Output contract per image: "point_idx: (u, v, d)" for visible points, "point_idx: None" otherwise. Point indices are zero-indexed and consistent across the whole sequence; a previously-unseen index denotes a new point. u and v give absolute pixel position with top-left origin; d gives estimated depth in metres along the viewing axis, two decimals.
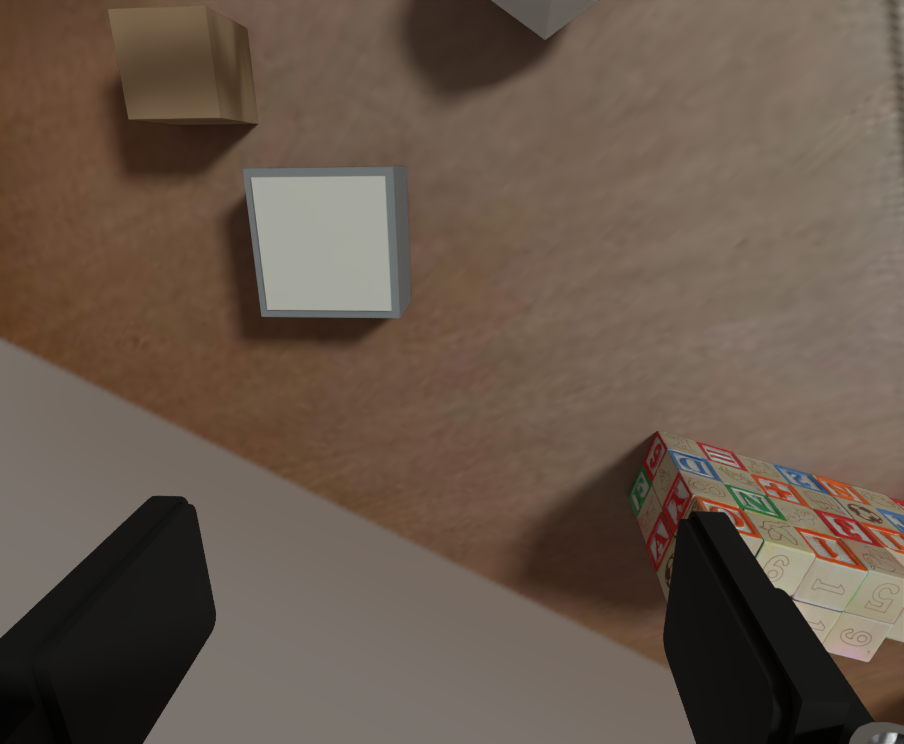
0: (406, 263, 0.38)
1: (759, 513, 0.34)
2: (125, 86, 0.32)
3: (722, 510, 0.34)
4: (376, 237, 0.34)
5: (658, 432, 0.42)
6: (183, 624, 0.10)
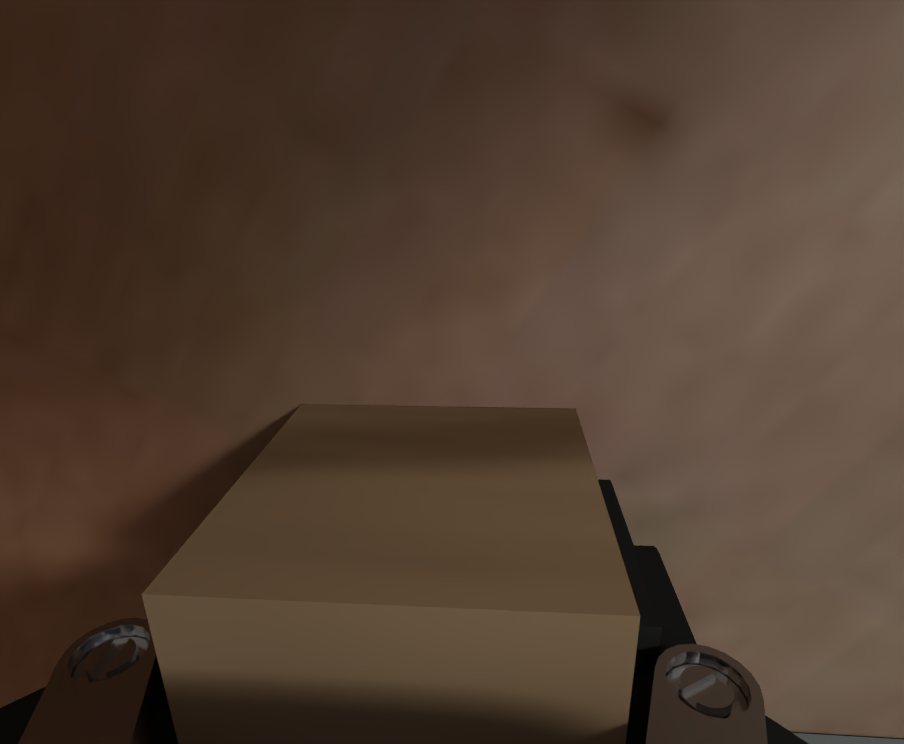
0: None
1: None
2: None
3: None
4: None
5: None
6: None
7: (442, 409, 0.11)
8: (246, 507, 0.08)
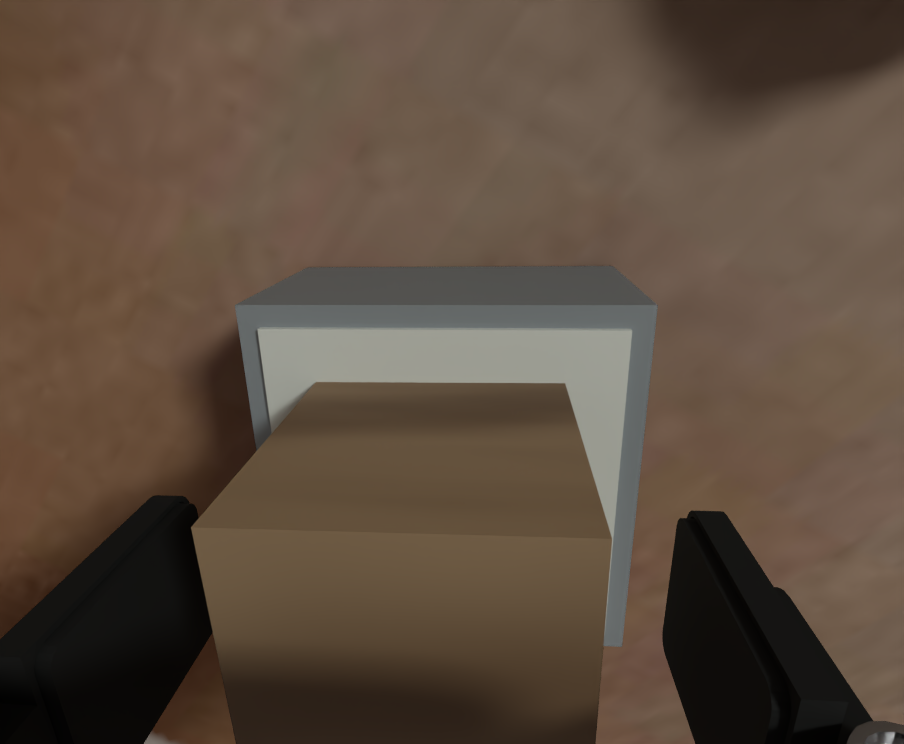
0: None
1: None
2: (246, 734, 0.09)
3: None
4: None
5: None
6: (184, 623, 0.10)
7: (444, 385, 0.12)
8: (273, 463, 0.09)
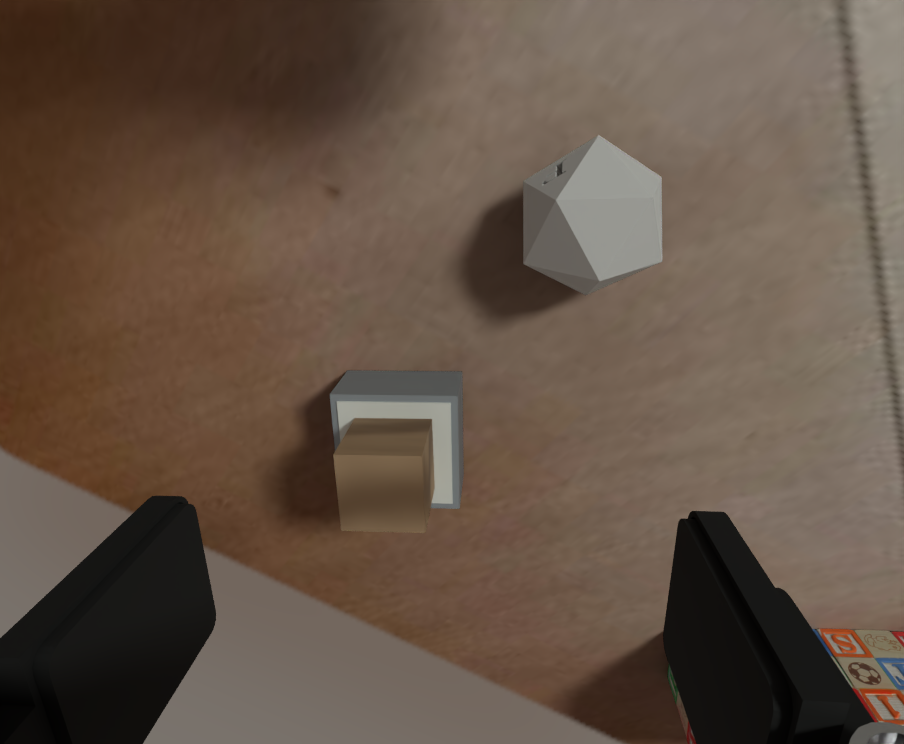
0: None
1: None
2: (341, 507, 0.36)
3: None
4: (441, 448, 0.41)
5: None
6: (183, 624, 0.10)
7: (394, 419, 0.40)
8: (347, 441, 0.37)
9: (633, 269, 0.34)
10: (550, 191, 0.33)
